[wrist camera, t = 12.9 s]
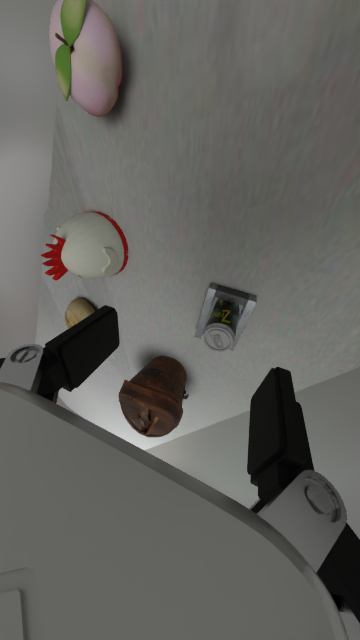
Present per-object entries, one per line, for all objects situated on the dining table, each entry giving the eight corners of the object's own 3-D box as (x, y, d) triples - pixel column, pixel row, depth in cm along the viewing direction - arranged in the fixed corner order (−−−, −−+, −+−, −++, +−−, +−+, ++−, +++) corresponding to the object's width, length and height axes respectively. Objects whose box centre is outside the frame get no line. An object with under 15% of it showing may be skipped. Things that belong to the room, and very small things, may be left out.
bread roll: (105, 339, 61) (88, 354, 55) (72, 306, 58) (50, 318, 52) (120, 327, 55) (102, 343, 49) (84, 290, 53) (60, 301, 46)
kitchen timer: (79, 261, 48) (20, 279, 36) (77, 202, 39) (-1, 200, 27) (125, 282, 46) (79, 309, 34) (132, 225, 38) (74, 234, 26)
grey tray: (211, 282, 38) (208, 287, 36) (256, 296, 36) (256, 302, 34) (197, 329, 46) (194, 336, 43) (234, 342, 44) (233, 350, 41)
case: (163, 395, 66) (138, 447, 51) (132, 354, 60) (94, 399, 45) (206, 390, 57) (190, 452, 42) (174, 341, 51) (143, 393, 36)
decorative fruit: (96, 15, 25) (20, -77, 17) (144, 54, 25) (92, -18, 17) (84, 107, 30) (23, 71, 22) (124, 138, 31) (77, 113, 23)
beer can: (242, 316, 39) (238, 351, 29) (218, 320, 42) (207, 354, 32) (235, 293, 37) (229, 323, 27) (211, 299, 40) (197, 329, 30)
